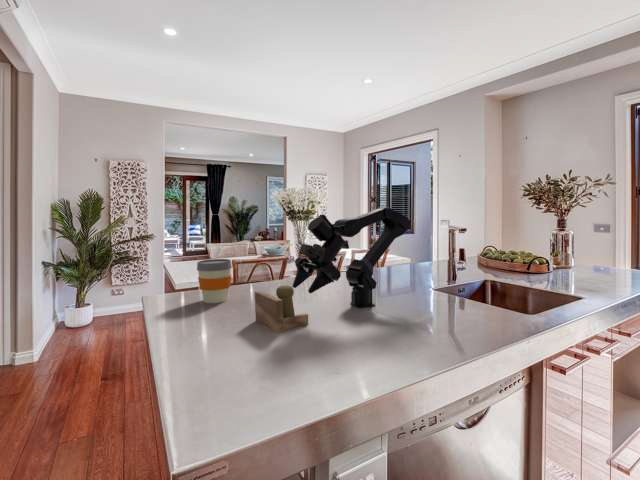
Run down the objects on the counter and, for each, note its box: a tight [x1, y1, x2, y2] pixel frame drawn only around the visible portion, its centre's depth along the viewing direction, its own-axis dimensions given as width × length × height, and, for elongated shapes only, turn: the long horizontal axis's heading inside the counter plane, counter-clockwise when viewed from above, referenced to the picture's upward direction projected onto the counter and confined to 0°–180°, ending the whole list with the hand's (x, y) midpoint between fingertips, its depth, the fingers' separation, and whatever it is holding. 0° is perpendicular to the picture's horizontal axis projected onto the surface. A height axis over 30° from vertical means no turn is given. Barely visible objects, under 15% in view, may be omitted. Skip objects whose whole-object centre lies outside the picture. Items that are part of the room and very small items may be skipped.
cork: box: [275, 285, 296, 318], centre depth 102 cm, size 6×6×11 cm
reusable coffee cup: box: [196, 258, 232, 304], centre depth 129 cm, size 12×13×15 cm
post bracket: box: [254, 290, 309, 334], centre depth 101 cm, size 11×14×9 cm
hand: (301, 289), depth 105 cm, fingers open, 9 cm apart
